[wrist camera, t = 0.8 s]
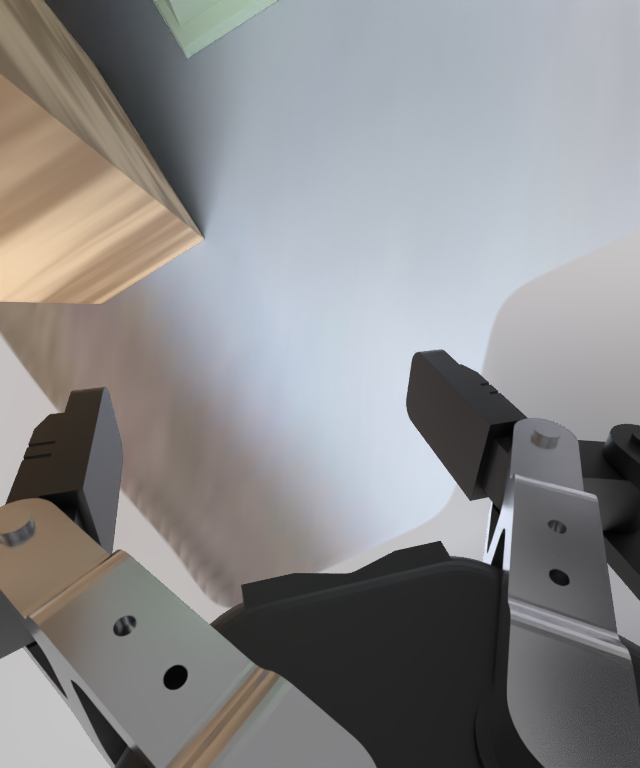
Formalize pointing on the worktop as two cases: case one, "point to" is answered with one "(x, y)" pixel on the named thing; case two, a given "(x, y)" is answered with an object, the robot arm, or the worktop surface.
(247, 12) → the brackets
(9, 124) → the wooden block
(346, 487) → the worktop surface
